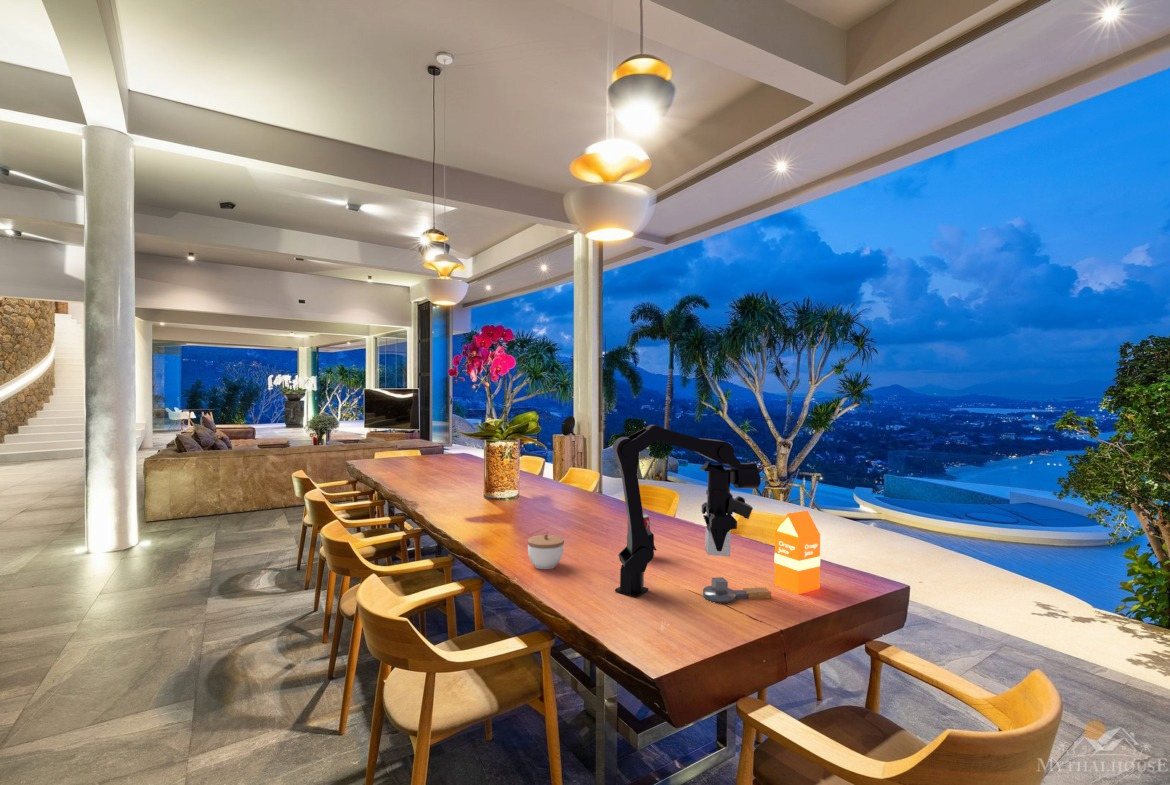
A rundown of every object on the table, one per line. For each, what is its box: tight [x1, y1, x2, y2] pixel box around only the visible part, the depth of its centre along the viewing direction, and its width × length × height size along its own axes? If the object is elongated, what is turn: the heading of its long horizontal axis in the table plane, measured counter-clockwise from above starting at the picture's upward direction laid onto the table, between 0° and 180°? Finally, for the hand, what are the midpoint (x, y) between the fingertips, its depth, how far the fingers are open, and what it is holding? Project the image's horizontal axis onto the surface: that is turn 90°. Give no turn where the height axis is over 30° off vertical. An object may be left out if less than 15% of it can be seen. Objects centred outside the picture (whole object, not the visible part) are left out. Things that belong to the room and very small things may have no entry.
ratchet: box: [702, 576, 772, 605], centre depth 126 cm, size 17×8×4 cm, turn 97°
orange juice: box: [773, 510, 821, 595], centre depth 134 cm, size 8×9×20 cm
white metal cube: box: [704, 525, 732, 557], centre depth 131 cm, size 6×6×6 cm
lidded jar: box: [527, 533, 565, 570], centre depth 147 cm, size 11×11×9 cm
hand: (717, 547), depth 131 cm, fingers closed on white metal cube, 6 cm apart
